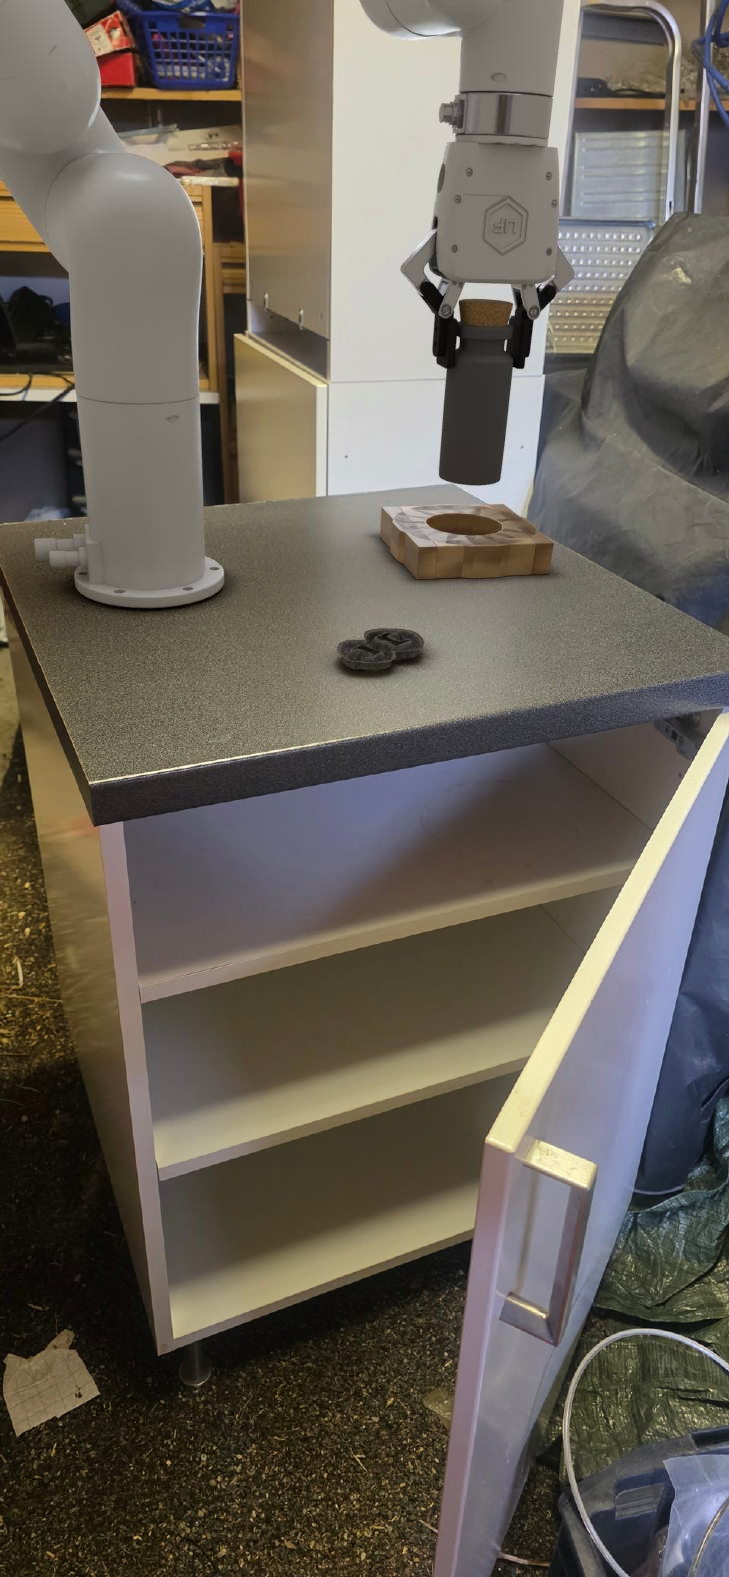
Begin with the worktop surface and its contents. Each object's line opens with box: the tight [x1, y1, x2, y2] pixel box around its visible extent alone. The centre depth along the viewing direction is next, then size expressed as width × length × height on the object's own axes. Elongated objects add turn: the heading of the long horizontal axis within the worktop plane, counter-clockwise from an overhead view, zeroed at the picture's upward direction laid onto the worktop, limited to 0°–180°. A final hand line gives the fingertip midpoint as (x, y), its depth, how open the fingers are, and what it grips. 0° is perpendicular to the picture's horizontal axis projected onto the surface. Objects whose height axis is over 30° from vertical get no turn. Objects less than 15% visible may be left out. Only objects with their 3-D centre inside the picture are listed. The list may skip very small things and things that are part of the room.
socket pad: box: [379, 503, 555, 580], centre depth 99 cm, size 14×14×3 cm
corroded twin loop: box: [336, 627, 425, 671], centre depth 77 cm, size 5×8×1 cm, turn 140°
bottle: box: [438, 298, 514, 487], centre depth 92 cm, size 6×6×15 cm
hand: (480, 364), depth 91 cm, fingers closed on bottle, 5 cm apart
